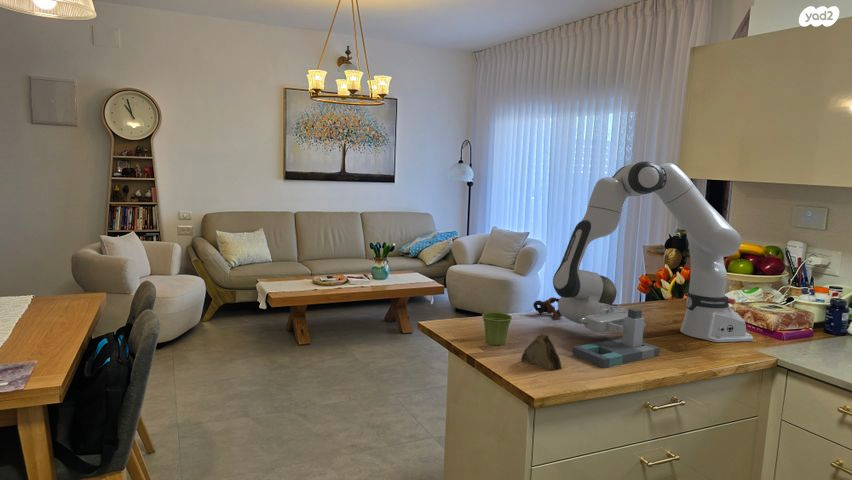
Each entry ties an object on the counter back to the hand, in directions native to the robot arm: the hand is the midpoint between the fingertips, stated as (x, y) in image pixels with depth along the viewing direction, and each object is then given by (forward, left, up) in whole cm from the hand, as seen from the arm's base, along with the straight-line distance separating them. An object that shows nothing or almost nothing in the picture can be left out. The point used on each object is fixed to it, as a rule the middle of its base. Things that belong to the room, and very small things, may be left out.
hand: (633, 327), depth 172 cm
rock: (+31, +13, -8) cm, 35 cm away
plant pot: (+41, -6, -8) cm, 42 cm away
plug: (0, 0, -8) cm, 8 cm away
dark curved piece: (+17, -39, -8) cm, 43 cm away
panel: (+6, +3, -8) cm, 11 cm away
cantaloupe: (-3, -46, -8) cm, 46 cm away
